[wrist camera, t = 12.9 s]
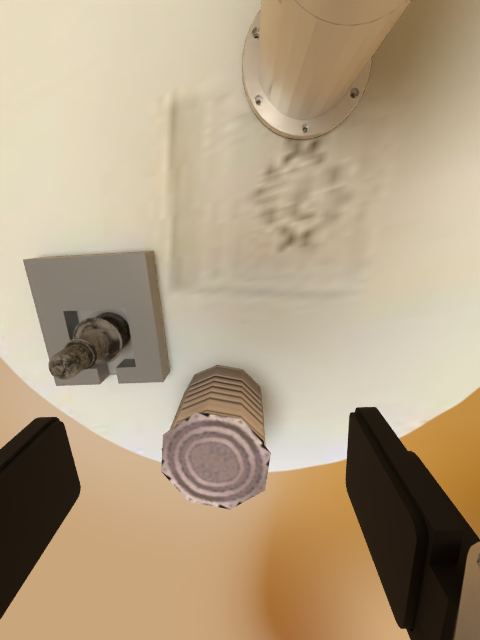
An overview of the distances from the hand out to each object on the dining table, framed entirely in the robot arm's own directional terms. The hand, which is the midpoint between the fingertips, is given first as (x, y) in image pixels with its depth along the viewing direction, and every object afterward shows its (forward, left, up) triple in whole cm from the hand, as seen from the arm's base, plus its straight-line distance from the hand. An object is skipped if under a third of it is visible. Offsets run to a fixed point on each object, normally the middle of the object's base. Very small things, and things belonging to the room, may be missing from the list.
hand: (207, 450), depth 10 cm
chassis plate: (+3, -17, -28) cm, 33 cm away
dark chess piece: (+5, -17, -28) cm, 33 cm away
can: (+16, -3, -29) cm, 33 cm away
